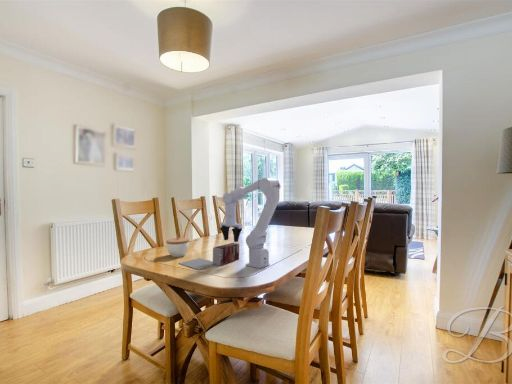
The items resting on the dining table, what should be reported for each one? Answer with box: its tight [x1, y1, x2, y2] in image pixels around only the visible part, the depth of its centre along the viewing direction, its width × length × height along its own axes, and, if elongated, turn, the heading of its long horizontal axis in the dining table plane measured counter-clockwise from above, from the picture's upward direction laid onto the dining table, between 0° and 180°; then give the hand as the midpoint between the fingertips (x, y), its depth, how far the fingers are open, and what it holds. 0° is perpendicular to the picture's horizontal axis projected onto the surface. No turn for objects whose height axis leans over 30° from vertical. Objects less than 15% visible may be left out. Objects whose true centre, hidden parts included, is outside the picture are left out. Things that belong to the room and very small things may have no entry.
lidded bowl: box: [166, 236, 190, 258], centre depth 155 cm, size 13×13×11 cm
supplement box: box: [212, 242, 240, 267], centre depth 140 cm, size 9×5×16 cm
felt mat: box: [178, 257, 216, 271], centre depth 137 cm, size 17×13×1 cm
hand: (231, 240), depth 143 cm, fingers open, 7 cm apart
